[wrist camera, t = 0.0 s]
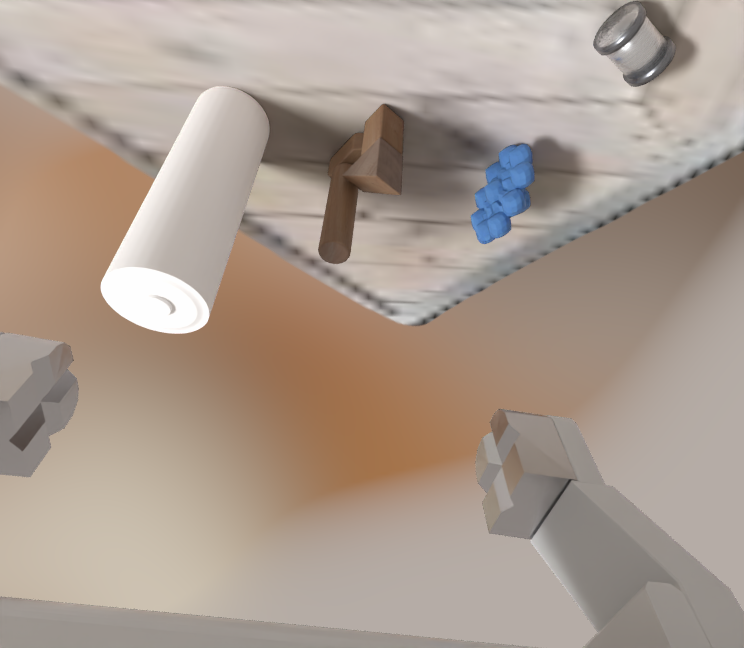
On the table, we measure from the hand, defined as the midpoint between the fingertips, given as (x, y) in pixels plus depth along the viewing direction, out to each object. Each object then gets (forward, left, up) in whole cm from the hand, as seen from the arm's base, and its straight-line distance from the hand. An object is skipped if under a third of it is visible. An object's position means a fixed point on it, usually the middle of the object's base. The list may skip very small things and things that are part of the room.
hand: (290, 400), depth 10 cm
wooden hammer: (+19, +20, -52) cm, 59 cm away
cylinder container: (+31, +8, -52) cm, 61 cm away
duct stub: (-10, +27, -52) cm, 59 cm away
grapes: (+7, +34, -52) cm, 63 cm away
